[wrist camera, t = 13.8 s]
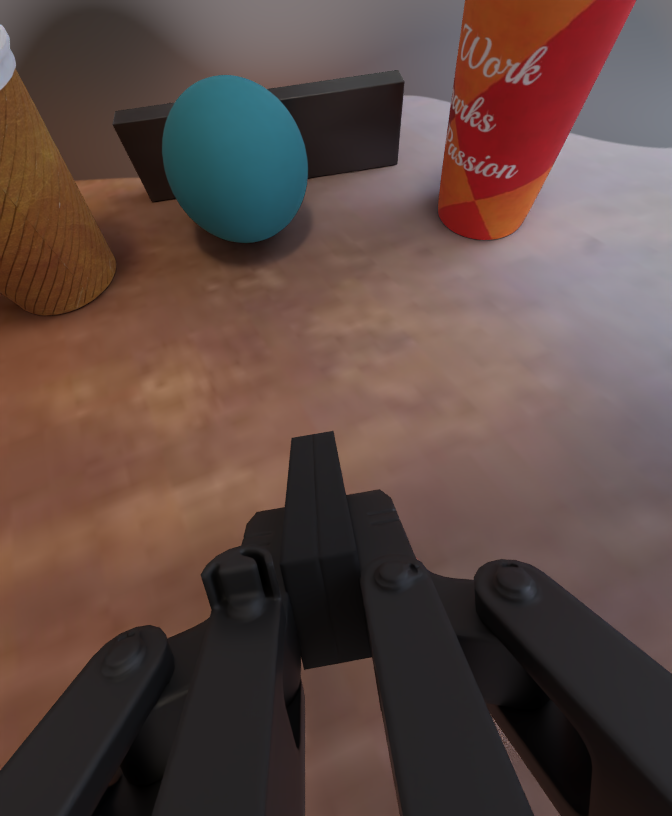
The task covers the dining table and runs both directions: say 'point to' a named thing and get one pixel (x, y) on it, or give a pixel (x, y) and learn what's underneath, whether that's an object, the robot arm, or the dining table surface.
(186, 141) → the ball
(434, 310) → the dining table surface
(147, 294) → the dining table surface
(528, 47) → the paper cup
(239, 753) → the robot arm
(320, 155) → the block
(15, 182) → the disposable coffee cup
